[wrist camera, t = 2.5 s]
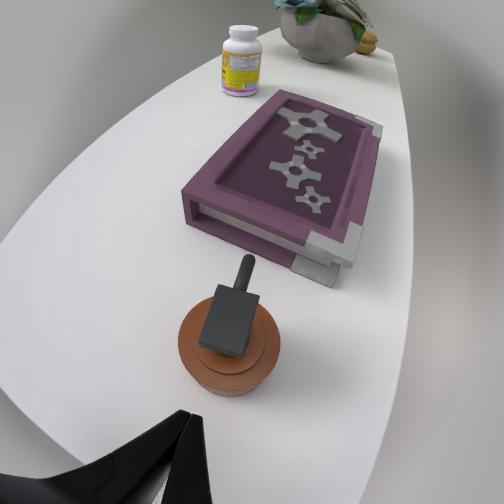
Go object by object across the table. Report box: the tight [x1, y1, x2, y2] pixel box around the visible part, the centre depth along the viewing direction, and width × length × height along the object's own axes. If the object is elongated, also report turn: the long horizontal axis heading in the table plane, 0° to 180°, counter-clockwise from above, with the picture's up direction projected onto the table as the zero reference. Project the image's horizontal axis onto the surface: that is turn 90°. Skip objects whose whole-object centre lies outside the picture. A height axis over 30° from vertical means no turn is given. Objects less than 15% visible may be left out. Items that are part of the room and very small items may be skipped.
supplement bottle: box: [222, 25, 262, 96], centre depth 41 cm, size 7×7×13 cm
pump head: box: [198, 254, 260, 359], centre depth 15 cm, size 6×2×2 cm, turn 165°
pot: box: [355, 30, 378, 54], centre depth 71 cm, size 12×12×10 cm
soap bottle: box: [178, 297, 280, 397], centre depth 19 cm, size 6×6×7 cm
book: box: [181, 90, 383, 288], centre depth 32 cm, size 25×16×5 cm, turn 155°
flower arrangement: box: [275, 0, 373, 63], centre depth 52 cm, size 25×25×24 cm
